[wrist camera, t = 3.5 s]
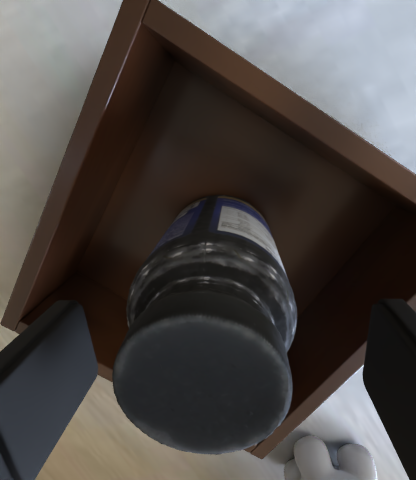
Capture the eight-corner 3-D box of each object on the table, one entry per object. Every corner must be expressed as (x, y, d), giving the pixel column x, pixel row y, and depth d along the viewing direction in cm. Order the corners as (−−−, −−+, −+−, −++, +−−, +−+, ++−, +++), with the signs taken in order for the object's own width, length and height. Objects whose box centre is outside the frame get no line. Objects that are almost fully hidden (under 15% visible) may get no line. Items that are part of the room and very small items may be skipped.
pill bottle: (184, 292, 19) (121, 478, 9) (159, 202, 17) (43, 307, 7) (278, 278, 18) (332, 470, 8) (264, 182, 16) (310, 268, 6)
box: (65, 271, 20) (-1, 324, 14) (170, 38, 15) (129, -20, 9) (255, 375, 22) (262, 460, 16) (412, 199, 16) (505, 234, 11)
